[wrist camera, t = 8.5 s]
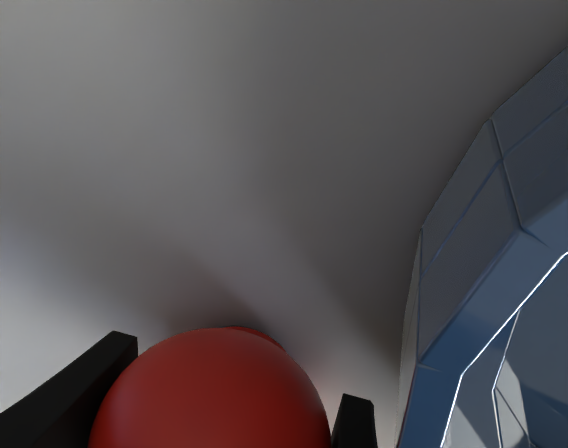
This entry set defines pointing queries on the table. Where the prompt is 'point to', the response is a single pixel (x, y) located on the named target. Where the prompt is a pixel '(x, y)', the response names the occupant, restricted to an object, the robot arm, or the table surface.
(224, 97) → the table surface
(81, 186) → the table surface
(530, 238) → the bowl
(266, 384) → the tomato
